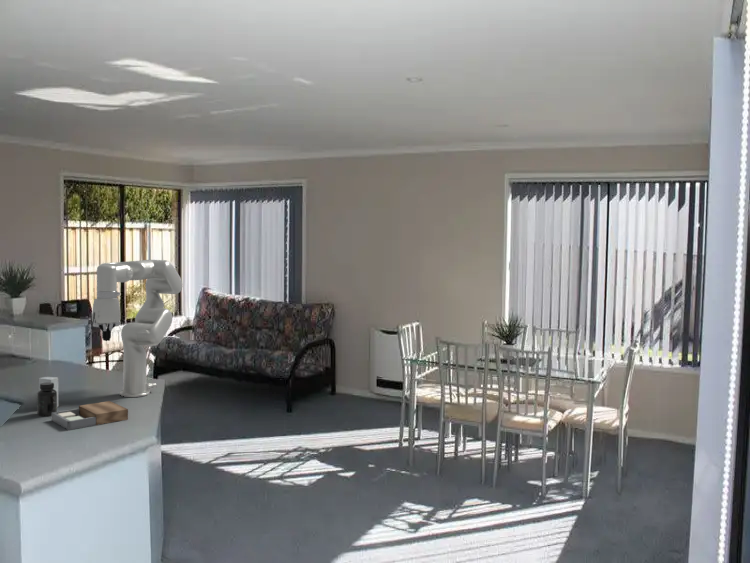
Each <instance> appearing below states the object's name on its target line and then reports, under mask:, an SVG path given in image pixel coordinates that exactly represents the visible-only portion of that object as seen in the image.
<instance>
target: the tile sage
mask: <svg viewBox="0 0 750 563" xmlns="http://www.w3.org/2000/svg"><path fill="white" fill-rule="evenodd" d="M66 419H68V420H70V421H72V420H78V419H84V418H82V417H80V416H75V417H69V418H66Z"/></svg>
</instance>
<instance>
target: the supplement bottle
mask: <svg viewBox="0 0 750 563" xmlns="http://www.w3.org/2000/svg"><path fill="white" fill-rule="evenodd" d="M53 388H54V383H52V382H46V383H41V384H40V389H41V390H40V391H39V390H38V392H37V393H36V412H37V416H39V417H52V412H58V407H57V391H56V390H54V389H53Z"/></svg>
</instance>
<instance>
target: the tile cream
mask: <svg viewBox="0 0 750 563" xmlns="http://www.w3.org/2000/svg"><path fill="white" fill-rule="evenodd" d="M59 415H60V416H62V417H64V418H69V417H75V414H74V413H72V412H65V413H59Z"/></svg>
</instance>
